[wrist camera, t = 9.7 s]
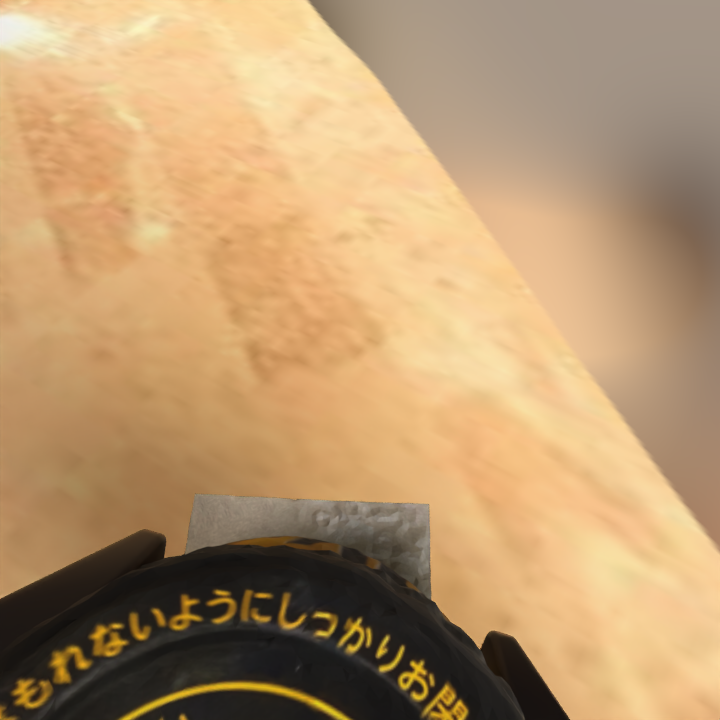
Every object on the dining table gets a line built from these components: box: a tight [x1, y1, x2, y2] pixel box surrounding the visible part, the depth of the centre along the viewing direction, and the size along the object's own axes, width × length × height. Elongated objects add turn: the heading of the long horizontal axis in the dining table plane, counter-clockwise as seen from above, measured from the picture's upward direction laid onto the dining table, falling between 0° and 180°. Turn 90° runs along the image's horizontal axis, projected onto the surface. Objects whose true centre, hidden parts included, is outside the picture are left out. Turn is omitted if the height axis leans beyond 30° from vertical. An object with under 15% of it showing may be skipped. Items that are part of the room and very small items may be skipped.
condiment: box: [0, 494, 525, 720], centre depth 9 cm, size 7×8×12 cm
